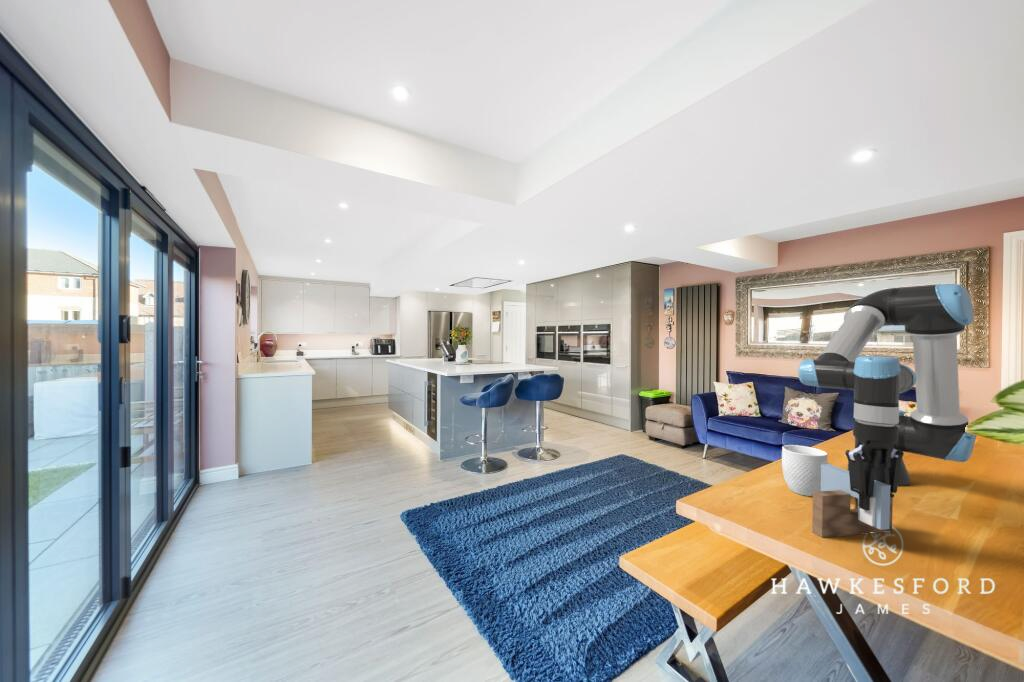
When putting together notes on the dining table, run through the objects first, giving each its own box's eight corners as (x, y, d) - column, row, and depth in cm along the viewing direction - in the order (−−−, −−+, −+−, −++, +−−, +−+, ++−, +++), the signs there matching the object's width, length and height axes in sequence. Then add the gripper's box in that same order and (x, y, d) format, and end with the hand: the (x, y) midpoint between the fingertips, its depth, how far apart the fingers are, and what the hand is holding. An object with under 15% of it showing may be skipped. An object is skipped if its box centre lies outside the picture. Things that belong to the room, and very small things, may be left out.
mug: (849, 499, 109) (849, 455, 109) (836, 508, 103) (837, 462, 103) (789, 482, 122) (790, 442, 121) (775, 489, 116) (775, 448, 115)
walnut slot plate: (880, 526, 94) (881, 487, 93) (891, 531, 91) (892, 491, 91) (812, 532, 91) (813, 491, 90) (821, 537, 88) (822, 496, 88)
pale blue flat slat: (820, 502, 98) (821, 464, 97) (828, 501, 98) (829, 464, 98) (880, 529, 84) (881, 486, 84) (889, 529, 84) (890, 485, 84)
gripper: (884, 418, 91) (882, 512, 91) (830, 419, 89) (828, 516, 89) (922, 425, 83) (920, 528, 84) (864, 427, 81) (862, 533, 81)
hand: (872, 522), depth 86 cm, fingers closed on pale blue flat slat, 2 cm apart
